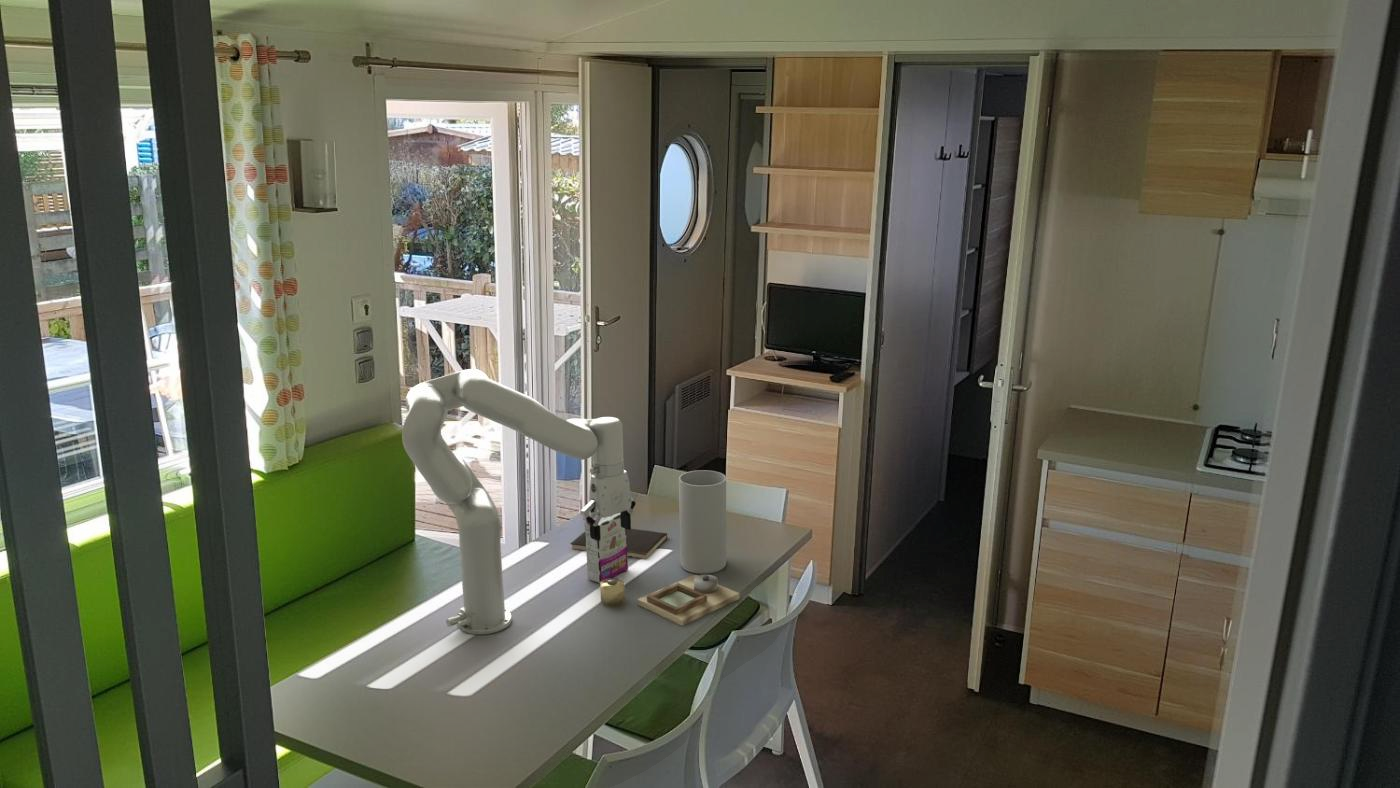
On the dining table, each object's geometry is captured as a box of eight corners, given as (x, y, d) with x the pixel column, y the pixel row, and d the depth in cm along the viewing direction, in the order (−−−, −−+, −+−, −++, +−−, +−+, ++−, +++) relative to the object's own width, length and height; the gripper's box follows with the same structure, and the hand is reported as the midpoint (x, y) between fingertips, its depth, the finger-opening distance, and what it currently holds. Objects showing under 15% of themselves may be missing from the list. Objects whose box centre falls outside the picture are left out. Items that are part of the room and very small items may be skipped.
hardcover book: (645, 561, 284) (645, 553, 283) (570, 550, 291) (570, 543, 291) (667, 539, 298) (667, 532, 298) (595, 530, 306) (595, 522, 305)
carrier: (681, 625, 246) (681, 607, 245) (637, 604, 257) (637, 586, 256) (739, 598, 259) (739, 581, 258) (695, 579, 270) (694, 562, 269)
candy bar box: (614, 565, 280) (612, 508, 276) (628, 570, 277) (626, 512, 273) (586, 579, 271) (583, 521, 267) (600, 584, 268) (597, 525, 264)
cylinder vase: (700, 552, 288) (699, 467, 281) (735, 563, 280) (735, 476, 274) (670, 566, 278) (669, 479, 272) (706, 579, 271) (705, 489, 264)
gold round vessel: (611, 609, 255) (610, 587, 253) (596, 601, 259) (595, 580, 258) (629, 601, 259) (629, 579, 257) (614, 593, 263) (613, 572, 262)
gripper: (590, 480, 242) (593, 548, 246) (645, 463, 253) (647, 528, 258) (570, 473, 247) (573, 539, 251) (625, 456, 259) (627, 520, 263)
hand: (610, 533), depth 254 cm, fingers open, 9 cm apart
